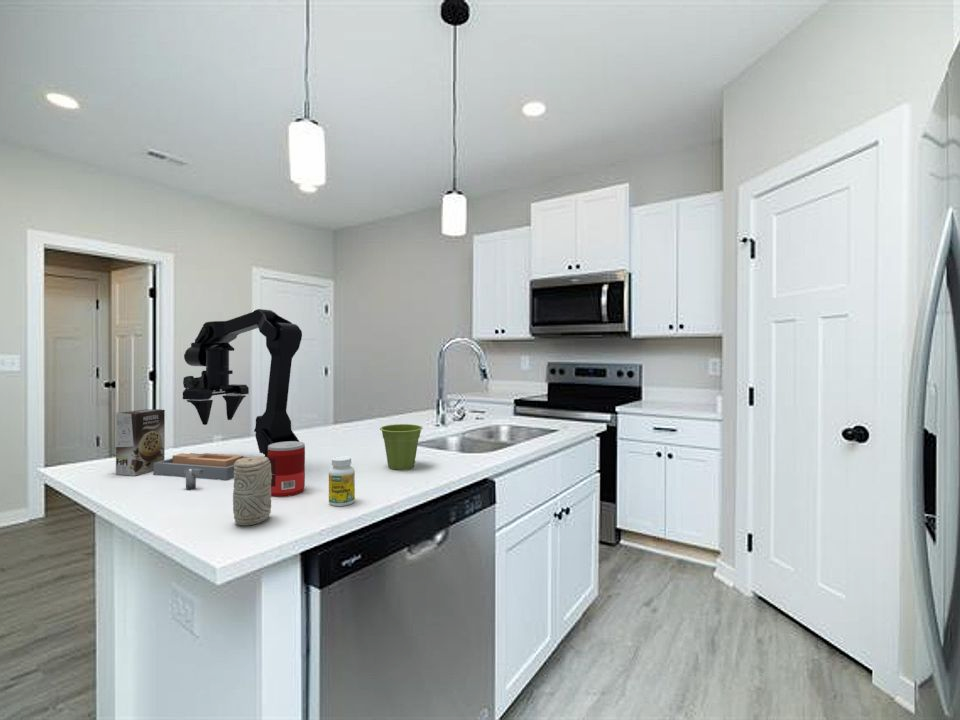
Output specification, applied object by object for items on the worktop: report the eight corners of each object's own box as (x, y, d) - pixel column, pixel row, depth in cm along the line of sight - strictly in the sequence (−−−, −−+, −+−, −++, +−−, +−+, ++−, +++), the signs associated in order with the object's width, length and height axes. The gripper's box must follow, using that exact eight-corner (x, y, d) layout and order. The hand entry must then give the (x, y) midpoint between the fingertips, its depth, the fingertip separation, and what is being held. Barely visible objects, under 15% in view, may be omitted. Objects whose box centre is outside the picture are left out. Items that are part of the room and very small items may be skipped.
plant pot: (370, 468, 131) (370, 427, 130) (400, 460, 140) (401, 422, 140) (401, 475, 124) (401, 432, 124) (431, 466, 134) (431, 426, 133)
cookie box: (135, 476, 120) (135, 413, 120) (114, 474, 121) (114, 412, 121) (166, 467, 129) (165, 409, 129) (146, 466, 130) (146, 408, 130)
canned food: (311, 488, 111) (311, 442, 111) (287, 498, 103) (287, 449, 103) (285, 485, 113) (285, 440, 113) (259, 495, 106) (260, 446, 106)
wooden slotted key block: (243, 467, 127) (243, 455, 127) (226, 473, 121) (226, 461, 120) (186, 463, 131) (186, 452, 130) (167, 469, 124) (167, 457, 124)
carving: (225, 528, 86) (225, 463, 86) (245, 514, 93) (245, 454, 93) (259, 528, 86) (259, 463, 86) (277, 514, 93) (277, 454, 93)
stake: (204, 488, 110) (204, 468, 110) (197, 490, 109) (197, 470, 108) (189, 486, 111) (189, 467, 111) (183, 489, 109) (183, 469, 109)
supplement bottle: (355, 498, 104) (355, 455, 104) (354, 506, 99) (354, 460, 99) (329, 499, 103) (329, 456, 103) (327, 507, 98) (327, 461, 98)
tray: (259, 468, 129) (259, 457, 129) (227, 480, 117) (227, 468, 117) (190, 463, 134) (190, 453, 134) (153, 474, 122) (153, 463, 122)
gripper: (217, 365, 143) (217, 416, 143) (165, 367, 125) (165, 426, 125) (250, 366, 141) (249, 418, 141) (200, 368, 123) (200, 428, 123)
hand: (217, 422), depth 133 cm, fingers open, 9 cm apart
